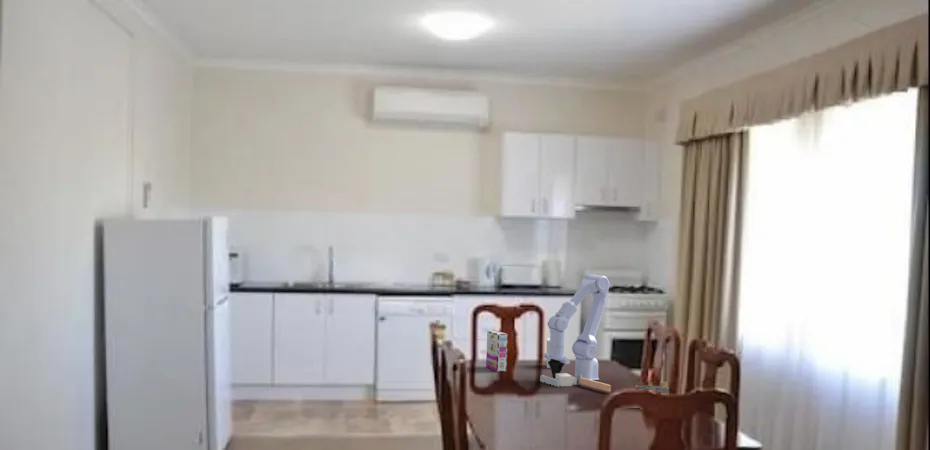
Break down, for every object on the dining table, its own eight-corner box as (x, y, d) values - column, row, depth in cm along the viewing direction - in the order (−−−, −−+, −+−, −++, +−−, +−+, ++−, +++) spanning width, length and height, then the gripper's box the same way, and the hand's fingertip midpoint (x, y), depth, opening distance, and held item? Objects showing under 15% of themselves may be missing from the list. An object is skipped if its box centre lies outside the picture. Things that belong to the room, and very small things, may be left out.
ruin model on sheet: (667, 407, 271) (668, 381, 271) (667, 410, 268) (668, 382, 268) (635, 405, 273) (635, 379, 273) (635, 407, 270) (636, 380, 270)
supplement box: (562, 365, 339) (563, 338, 339) (562, 369, 332) (563, 340, 332) (546, 365, 340) (546, 337, 340) (546, 368, 333) (547, 340, 332)
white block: (566, 382, 305) (567, 373, 305) (572, 386, 299) (572, 376, 299) (555, 383, 304) (555, 373, 304) (560, 386, 298) (560, 376, 298)
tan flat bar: (577, 384, 301) (577, 375, 301) (579, 383, 302) (579, 374, 302) (608, 393, 288) (608, 383, 288) (610, 392, 289) (611, 383, 289)
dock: (559, 378, 312) (559, 373, 312) (576, 384, 302) (576, 378, 302) (540, 381, 306) (540, 375, 306) (557, 386, 297) (557, 380, 297)
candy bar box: (507, 371, 323) (508, 333, 323) (497, 372, 321) (498, 334, 321) (495, 366, 333) (496, 329, 333) (485, 367, 331) (486, 330, 331)
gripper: (538, 343, 309) (537, 375, 310) (560, 349, 297) (559, 383, 297) (551, 342, 313) (550, 374, 313) (574, 347, 301) (573, 381, 301)
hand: (555, 378), depth 306 cm, fingers closed
